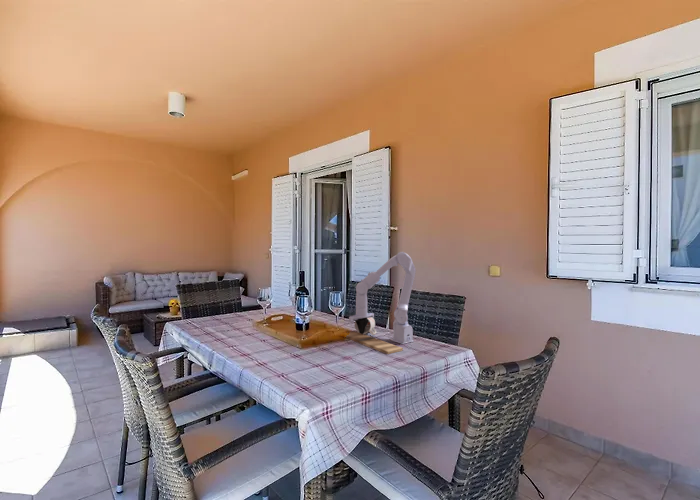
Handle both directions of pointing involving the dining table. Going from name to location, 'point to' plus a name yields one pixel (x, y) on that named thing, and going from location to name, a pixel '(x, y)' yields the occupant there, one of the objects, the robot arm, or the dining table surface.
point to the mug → (368, 327)
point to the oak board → (381, 345)
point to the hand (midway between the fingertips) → (361, 333)
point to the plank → (357, 336)
